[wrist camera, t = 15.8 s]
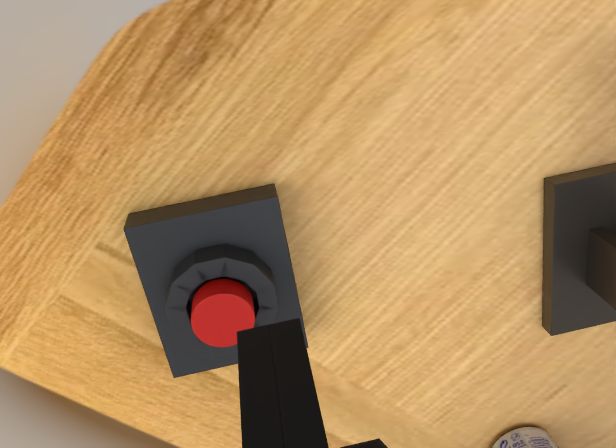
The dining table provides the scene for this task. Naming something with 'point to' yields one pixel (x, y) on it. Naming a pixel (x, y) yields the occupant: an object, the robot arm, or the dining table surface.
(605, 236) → the bracket
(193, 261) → the control box
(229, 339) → the button
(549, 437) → the beverage can
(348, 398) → the dining table surface
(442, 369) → the dining table surface
